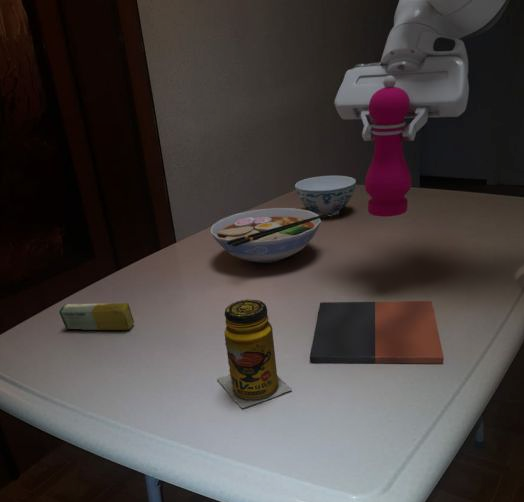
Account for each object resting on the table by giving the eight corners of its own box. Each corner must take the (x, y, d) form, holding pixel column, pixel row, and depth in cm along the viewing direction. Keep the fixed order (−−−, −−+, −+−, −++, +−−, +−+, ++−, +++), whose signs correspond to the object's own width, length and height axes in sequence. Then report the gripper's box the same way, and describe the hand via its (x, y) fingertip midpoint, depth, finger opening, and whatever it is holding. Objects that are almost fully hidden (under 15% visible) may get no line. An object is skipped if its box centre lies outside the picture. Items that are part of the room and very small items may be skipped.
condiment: (242, 409, 70) (230, 324, 64) (216, 379, 77) (204, 300, 71) (292, 391, 73) (286, 308, 67) (263, 363, 79) (255, 286, 73)
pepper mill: (398, 219, 86) (401, 77, 77) (357, 215, 90) (355, 79, 81) (417, 207, 91) (423, 71, 81) (377, 203, 95) (378, 73, 85)
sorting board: (431, 306, 90) (431, 300, 90) (443, 363, 75) (443, 357, 74) (320, 307, 94) (320, 302, 93) (310, 362, 78) (309, 356, 78)
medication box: (65, 331, 95) (57, 311, 93) (72, 322, 97) (64, 303, 95) (129, 330, 92) (122, 310, 90) (135, 321, 95) (129, 301, 92)
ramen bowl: (284, 231, 132) (281, 197, 128) (349, 254, 115) (348, 215, 111) (191, 260, 120) (185, 223, 116) (248, 289, 103) (243, 247, 99)
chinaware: (365, 215, 137) (365, 184, 133) (308, 225, 134) (306, 193, 130) (342, 202, 150) (341, 172, 146) (289, 211, 147) (287, 181, 143)
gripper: (342, 51, 89) (318, 126, 87) (474, 39, 79) (451, 124, 77) (353, 79, 95) (331, 150, 93) (479, 71, 85) (457, 151, 83)
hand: (387, 138), depth 85 cm, fingers closed on pepper mill, 5 cm apart
